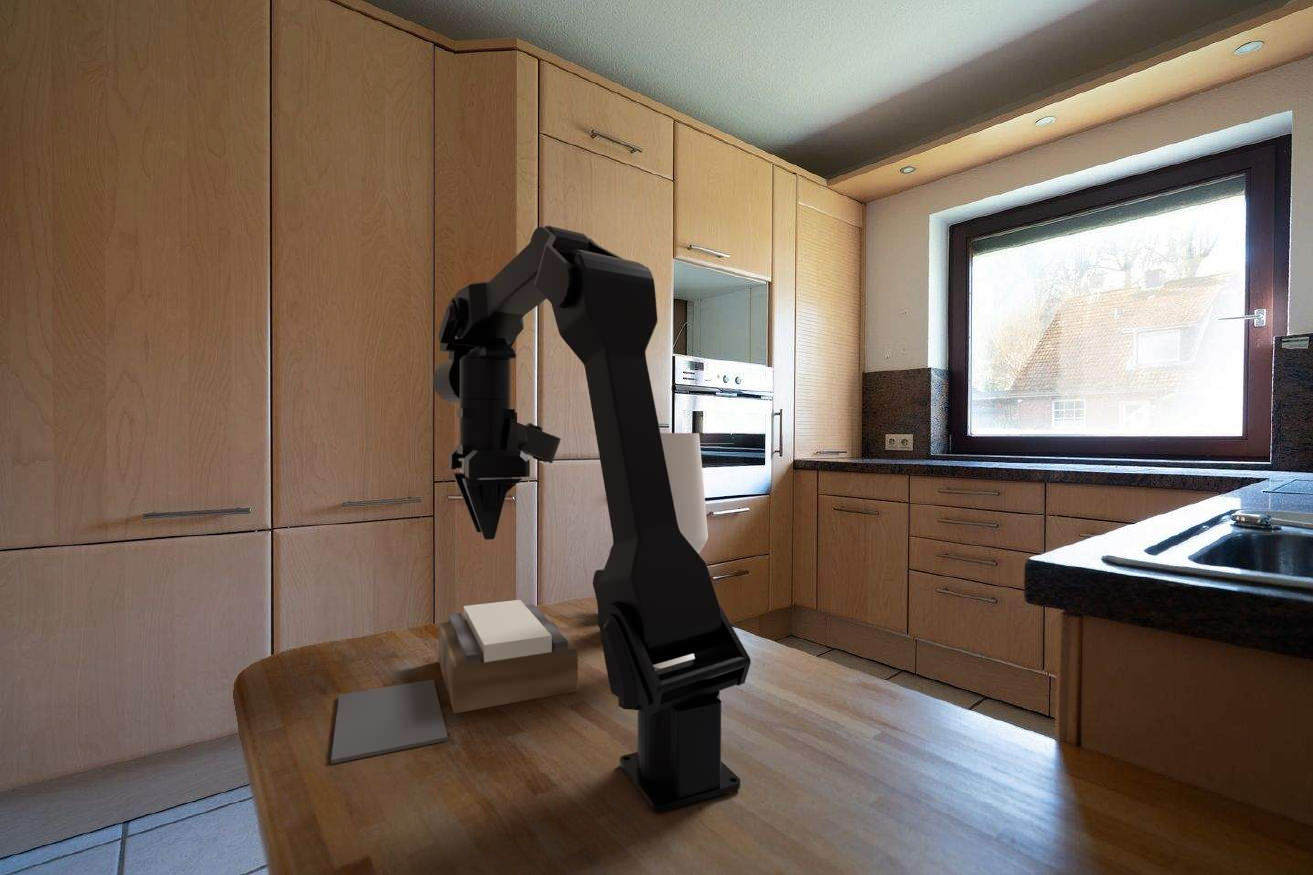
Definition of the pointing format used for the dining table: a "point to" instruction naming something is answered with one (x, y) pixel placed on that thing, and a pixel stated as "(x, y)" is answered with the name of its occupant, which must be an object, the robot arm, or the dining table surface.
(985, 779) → the dining table surface
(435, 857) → the dining table surface
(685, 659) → the champagne flute
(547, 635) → the cover plate
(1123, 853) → the dining table surface
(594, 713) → the dining table surface
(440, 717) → the mat
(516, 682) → the lid box
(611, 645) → the robot arm
